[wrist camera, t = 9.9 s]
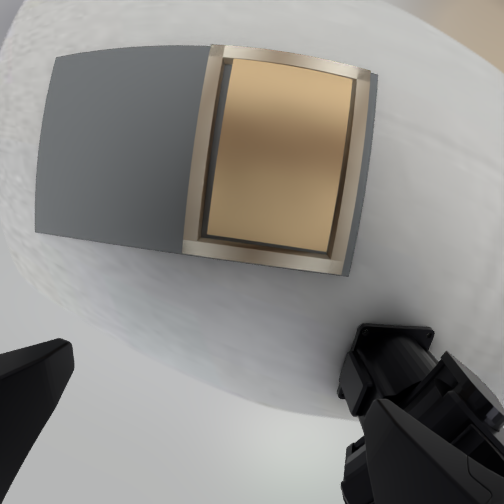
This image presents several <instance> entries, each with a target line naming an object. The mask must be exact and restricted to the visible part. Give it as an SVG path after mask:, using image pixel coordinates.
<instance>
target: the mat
mask: <svg viewBox="0 0 504 504" xmlns="http://www.w3.org/2000/svg"><path fill="white" fill-rule="evenodd" d="M210 47H211V46H183V45H176V46H143V47H128V48H116V49H107V50H98V51H91V52H84V53H78V54H72V55H66V56H61V57H56V60H55V64H54V67H53V71H52V76H51V80H50V84H49V89H48V94H47V99H46V104H45V109H44V115H43V121H42V128H41V135H40V143H39V152H38V162H37V174H36V191H35V232H37V233H43V234H49V235H56V236H62V237H69V238H75V239H82V240H88V241H95V242H101V243H108V244H115V245H121V246H128V247H135V248H142V249H149V250H155V251H162V252H169V253H176V254H182V247H183V236H184V225H185V215H186V205H187V196H188V187H189V179H190V170H191V163H192V155H193V148H194V140H195V134H196V127H197V120H198V114H199V108H200V101H201V96H202V90H203V84H204V78H205V73H206V68H207V62H208V57H209V52H210ZM231 70H232V65H230V64H225V66H224V72H223V78H222V83H221V89H220V95H219V102H218V108H217V114H216V121H215V127H214V134H213V141H212V148H211V156H210V163H209V171H208V178H207V186H206V195H205V203H204V212H203V221H202V230H201V237H202V238H210V239H217V240H224V241H232V242H239V243H246V244H254V245H261V246H268V247H275V248H283V249H290V250H297V251H304V252H311V253H318V254H325V255H327V251H326V252H324V251H317V250H311V249H304V248H297V247H291V246H284V245H277V244H271V243H264V242H257V241H250V240H244V239H237V238H230V237H223V236H216V235H209V234H207V230H208V222H209V214H210V206H211V198H212V191H213V183H214V176H215V169H216V162H217V155H218V148H219V142H220V135H221V129H222V122H223V116H224V110H225V104H226V98H227V92H228V87H229V81H230V75H231ZM377 83H378V75H377V74H374V73H371V75H370V89H369V101H368V112H367V121H366V131H365V139H364V147H363V155H362V162H361V169H360V176H359V183H358V189H357V196H356V202H355V207H354V213H353V219H352V224H351V230H350V235H349V240H348V245H347V250H346V255H345V260H344V264H343V269H342V274H341V275H339V276H346V277H348V276H349V272H350V267H351V263H352V258H353V253H354V249H355V244H356V239H357V234H358V228H359V223H360V218H361V212H362V206H363V201H364V194H365V188H366V182H367V175H368V168H369V161H370V153H371V145H372V137H373V128H374V118H375V108H376V96H377ZM338 187H339V186H338ZM337 193H338V192H337ZM336 199H337V198H336ZM335 205H336V204H335ZM334 211H335V210H334ZM333 217H334V215H333ZM332 223H333V221H332ZM331 228H332V226H331ZM330 234H331V231H330ZM329 239H330V236H329ZM328 245H329V241H328ZM327 250H328V246H327ZM183 255H189V254H183ZM190 256H197V255H190ZM197 257H204V256H197ZM204 258H211V257H204ZM212 259H218V258H212ZM219 260H225V259H219ZM226 261H232V260H226ZM233 262H240V261H233ZM240 263H247V262H240ZM248 264H254V263H248ZM255 265H262V264H255ZM263 266H269V265H263ZM270 267H277V266H270ZM277 268H284V267H277ZM285 269H292V268H285ZM292 270H299V269H292ZM300 271H307V270H300ZM308 272H314V271H308ZM315 273H322V272H315ZM323 274H330V273H323ZM331 275H338V274H331Z"/></svg>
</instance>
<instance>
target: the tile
mask: <svg viewBox="0 0 504 504" xmlns="http://www.w3.org/2000/svg"><path fill="white" fill-rule="evenodd" d="M352 80H353V79H349V78H345V77H341V76H337V75H333V74H328V73H324V72H319V71H315V70H310V69H305V68H299V67H294V66H288V65H282V64H275V63H269V62H261V61H253V60H245V59H235V58H234V59H233V64H232V70H231V75H230V81H229V87H228V92H227V98H226V104H225V110H224V116H223V122H222V129H221V135H220V142H219V148H218V155H217V162H216V169H215V176H214V183H213V191H212V198H211V206H210V214H209V222H208V230H207V234H209V235H216V236H223V237H230V238H237V239H244V240H250V241H257V242H264V243H271V244H277V245H284V246H291V247H297V248H304V249H311V250H317V251H324V252H326V251H327V246H328V241H329V236H330V231H331V226H332V221H333V215H334V210H335V204H336V198H337V192H338V186H339V180H340V174H341V167H342V161H343V154H344V147H345V140H346V132H347V124H348V116H349V108H350V99H351V90H352Z"/></svg>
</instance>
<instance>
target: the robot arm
mask: <svg viewBox="0 0 504 504" xmlns="http://www.w3.org/2000/svg"><path fill="white" fill-rule="evenodd" d="M366 329H367V332H366V333H363V331H364V330H366ZM428 333H429V335H428V336H427V334H428ZM434 334H435V333H434V331H433V330H432V329H431V328H429V327H411V326H394V325H379V324H362V325H361V326H360V327H359V328H358V330H357V334H356V337H355V340H354V343H353V347H352V350H351V351H350V352H349V353H348V354H347V357H346V360H345V363H344V366H343V369H342V372H341V375H340V378H339V382H340V385H339V388H338V391H337V394H338V397H339V398H340V399H346V401H347V404H348V407H349V410H350V413H351V414H352V416H353V417H357V416H358V418H359V421H360V423H361V426H362V429H363V432H364V436H363V437H361V438H360V439H359V440H358V441H357V442H356V443H352V444H351V445H350V446H348V447H347V449H346V460H345V470H344V479H343V481H342V482H341V490H342V494H343V499H344V501H345V504H504V428H503V426H504V408H503V407H502V405H501V403H500V402H499V400H498V398H497V397H496V395H495V394H494V393H493V392H492V391H491V390H490V389H489V388H488V387H487V386H486V385H485V384H484V383H483V382H482V381H481V380H480V379H479V377H477V376H476V375H475V374H474V373H473V372H472V371H471V370H469V369H468V368H467V367H466V366H465V365H463V364H462V363H461V362H460V361H459V360H457V359H456V358H455V357H454V356H453V355H451V354H450V353H449V352H448V351H446V352H445V353H444V354H443V355H442V356H441V360H440V361H439V362H438V361H437V360H436V359H435V357H434V356H433V355H432V354H431V353H430V352H429V348H430V345H431V342H432V340H433V337H434ZM73 371H74V356H73V348H72V344H71V343H70V342H69V341H67V340H64V339H61V338H57V339H54V340H50V341H47V342H43V343H40V344H36V345H33V346H29V347H25V348H21V349H18V350H14V351H10V352H6V353H3V354H0V504H2V501H3V499H4V498H5V495H6V493H7V492H8V490H9V488H10V485H11V484H12V482H13V480H14V478H15V476H16V475H17V473H18V471H19V469H20V467H21V465H22V464H23V462H24V460H25V458H26V456H27V455H28V453H29V451H30V450H31V448H32V446H33V444H34V443H35V441H36V439H37V438H38V436H39V434H40V433H41V430H42V429H43V427H44V426H45V424H46V422H47V421H48V419H49V418H50V416H51V414H52V413H53V411H54V409H55V408H56V406H57V404H58V402H59V399H60V398H61V395H62V393H63V391H64V389H65V387H66V385H67V383H68V381H69V379H70V377H71V375H72V373H73ZM342 393H344V394H342Z"/></svg>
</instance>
